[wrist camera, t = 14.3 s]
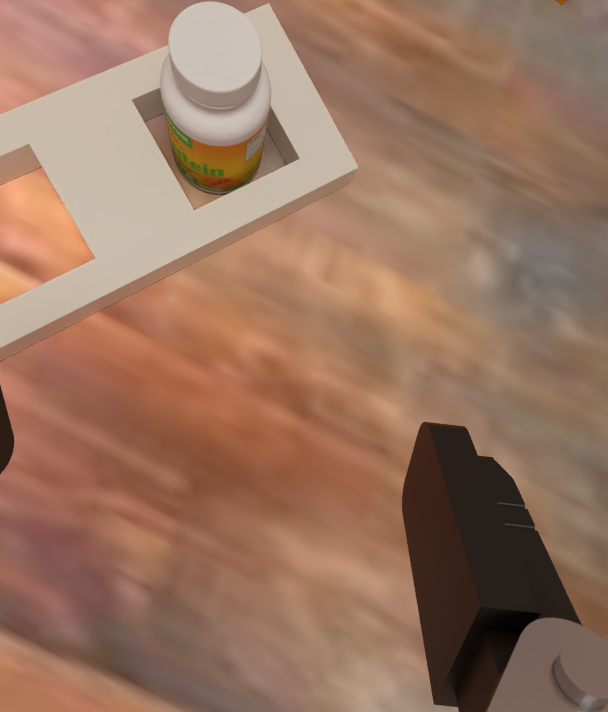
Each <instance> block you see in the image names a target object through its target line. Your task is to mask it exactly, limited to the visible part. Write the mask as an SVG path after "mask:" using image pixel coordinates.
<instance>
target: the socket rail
mask: <svg viewBox="0 0 608 712" xmlns="http://www.w3.org/2000/svg"><path fill="white" fill-rule="evenodd" d="M244 15H245V16H246V17H247V18H248V19H249V20H250V21H251V23H252V24H253V25H254V27H255V28H256V30H257V32H258V35H259V37H260V40H261V45H262V62H263V64H264V65H265V67H266V70H267V72H268V75H269V79H270V83H271V104H270V110H269V116H268V122H267V127H266V128H267V130H268V131H269V133H270V135H271V137H272V139H273V140H274V142H275V144H276V146H277V148H278V150H279V151H280V153H281V155H282V157H283V159H284V160H285V162H286V164H287V165H286V166H284V167H282V168H280V169H278V170H276V171H274V172H272V173H270V174H268V175H266V176H264V177H261V178H259V179H257V180H255V181H253V182H251V183H249V184H247V185H245V186H243V187H241V188H239V189H237V190H235V191H233V192H231V193H229V194H227V195H225V196H222V197H220V198H218V199H216V200H214V201H212V202H210V203H208V204H206V205H204V206H202V207H200V208H198V209H196V210H194V209H193V207H192V206H191V204H190V202H189V200H188V198H187V197H186V195H185V193H184V191H183V190H182V188H181V186H180V184H179V183H178V181H177V179H176V177H175V176H174V174H173V172H172V170H171V168H170V167H169V165H168V163H167V161H166V160H165V158H164V156H163V154H162V153H161V151H160V149H159V147H158V146H157V144H156V142H155V140H154V138H153V137H152V135H151V133H150V131H149V130H148V128H147V126H146V124H145V123H144V121H147V120H149V119H151V118H153V117H156V116H158V115H160V114H162V113H165V111H164V107H163V103H162V98H161V90H160V76H161V70H162V66H163V63H164V60H165V58H166V56H167V55H168V53H169V48H168V45H167V46H164V47H162V48H160V49H157V50H155V51H152V52H150V53H148V54H145V55H143V56H140V57H138V58H135V59H133V60H131V61H128V62H126V63H123V64H121V65H119V66H116V67H114V68H111V69H109V70H106V71H104V72H102V73H99V74H97V75H94V76H92V77H89V78H87V79H85V80H82V81H80V82H77V83H75V84H73V85H70V86H68V87H65V88H63V89H60V90H58V91H56V92H53V93H51V94H48V95H46V96H44V97H41V98H39V99H36V100H34V101H31V102H29V103H27V104H24V105H22V106H19V107H17V108H14V109H12V110H10V111H7V112H5V113H2V114H0V185H1V184H4V183H6V182H8V181H10V180H13V179H15V178H17V177H19V176H22V175H24V174H26V173H29V172H31V171H33V170H35V169H38V168H40V167H43V169H44V171H45V172H46V174H47V176H48V177H49V179H50V181H51V183H52V184H53V186H54V188H55V189H56V191H57V193H58V195H59V196H60V198H61V200H62V202H63V203H64V205H65V207H66V208H67V210H68V212H69V214H70V215H71V217H72V219H73V221H74V222H75V224H76V226H77V227H78V229H79V231H80V233H81V234H82V236H83V238H84V239H85V241H86V243H87V245H88V246H89V248H90V250H91V252H92V253H93V255H94V257H95V259H93V260H91V261H89V262H87V263H85V264H83V265H81V266H79V267H77V268H75V269H72V270H70V271H68V272H66V273H64V274H62V275H60V276H58V277H56V278H54V279H52V280H50V281H48V282H46V283H44V284H42V285H40V286H38V287H35V288H33V289H31V290H29V291H27V292H25V293H23V294H21V295H19V296H17V297H15V298H13V299H11V300H9V301H7V302H5V303H3V304H1V305H0V361H1V360H3V359H5V358H7V357H9V356H11V355H13V354H15V353H17V352H19V351H21V350H23V349H25V348H27V347H29V346H31V345H33V344H35V343H37V342H39V341H41V340H43V339H45V338H47V337H49V336H50V335H52V334H54V333H56V332H58V331H60V330H62V329H64V328H66V327H68V326H70V325H72V324H74V323H76V322H78V321H80V320H82V319H84V318H86V317H88V316H90V315H92V314H94V313H96V312H98V311H100V310H102V309H104V308H106V307H108V306H109V305H111V304H113V303H115V302H117V301H119V300H121V299H123V298H125V297H127V296H129V295H131V294H133V293H135V292H137V291H139V290H141V289H143V288H145V287H147V286H149V285H151V284H153V283H155V282H157V281H159V280H161V279H163V278H165V277H167V276H168V275H170V274H172V273H174V272H176V271H178V270H180V269H182V268H184V267H186V266H188V265H190V264H192V263H194V262H196V261H198V260H200V259H202V258H204V257H206V256H208V255H210V254H212V253H214V252H216V251H218V250H220V249H222V248H224V247H226V246H227V245H229V244H231V243H233V242H235V241H237V240H239V239H241V238H243V237H245V236H247V235H249V234H251V233H253V232H255V231H257V230H259V229H261V228H263V227H265V226H267V225H269V224H271V223H273V222H275V221H277V220H279V219H281V218H283V217H285V216H286V215H288V214H290V213H292V212H294V211H296V210H298V209H300V208H302V207H304V206H306V205H308V204H310V203H312V202H314V201H316V200H318V199H320V198H322V197H324V196H326V195H328V194H330V193H332V192H334V191H336V190H338V189H340V188H342V187H344V186H346V185H347V184H348V183H349V182H350V180H351V178H352V177H353V175H354V174H355V172H356V171H357V169H358V168H359V167H358V166H357V164H356V162H355V160H354V158H353V156H352V155H351V153H350V151H349V149H348V147H347V145H346V144H345V142H344V140H343V138H342V136H341V134H340V133H339V131H338V129H337V127H336V125H335V123H334V122H333V120H332V118H331V116H330V114H329V112H328V111H327V109H326V107H325V105H324V103H323V101H322V100H321V98H320V96H319V94H318V92H317V91H316V89H315V87H314V85H313V83H312V81H311V80H310V78H309V76H308V74H307V72H306V70H305V69H304V67H303V65H302V63H301V61H300V59H299V58H298V56H297V54H296V52H295V50H294V48H293V47H292V45H291V43H290V41H289V39H288V37H287V36H286V34H285V32H284V30H283V28H282V26H281V25H280V23H279V21H278V19H277V17H276V15H275V14H274V12H273V10H272V8H271V6H270V5H269V4H266V5H264V6H261V7H259V8H256V9H254V10H252V11H249V12H247V13H244Z"/></svg>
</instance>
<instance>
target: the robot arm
mask: <svg viewBox="0 0 608 712" xmlns="http://www.w3.org/2000/svg"><path fill="white" fill-rule="evenodd" d="M13 448H14V435H13V431H12V428H11V424H10V420H9V416H8V412H7V409H6V405H5V401H4V397H3V394H2V390H1V386H0V474H1V473H2V471H3V470H4V469H5V468H6V466H7V465H8V463H9V461H10V459H11V456H12V453H13ZM402 511H403V519H404V525H405V531H406V537H407V544H408V550H409V556H410V562H411V568H412V574H413V580H414V586H415V592H416V598H417V604H418V610H419V617H420V623H421V629H422V635H423V641H424V647H425V653H426V659H427V665H428V671H429V677H430V683H431V689H432V696H433V702H434V704H435V705H444V706H453V707H458V709H459V712H608V642H607V641H606V640H604V639H603V638H602V637H600V636H599V635H597V634H596V633H595V632H593V631H591V630H589V629H588V628H586V627H584V626H582V624H581V622H580V620H579V619H578V617H577V615H576V612H575V610H574V608H573V606H572V604H571V602H570V600H569V597H568V595H567V593H566V591H565V589H564V587H563V584H562V582H561V580H560V578H559V576H558V574H557V572H556V569H555V567H554V565H553V563H552V561H551V559H550V557H549V554H548V552H547V550H546V548H545V546H544V544H543V542H542V539H541V537H540V535H539V533H538V531H535V528H534V527H535V524H534V522H533V520H532V518H531V516H530V514H529V512H528V509H525V503H524V501H523V499H522V497H521V494H520V492H519V490H518V488H517V486H516V484H515V482H514V479H513V478H512V477H511V476H510V475H509V474H508V473H507V472H506V471H505V470H504V469H503V468H502V467H501V466H500V465H499V464H498V463H497V462H496V461H495V460H494V459H493V457H485V456H478V455H477V452H476V450H475V447H474V445H473V442H472V440H471V437H470V435H469V432H468V430H467V429H466V427H464V426H456V425H447V424H438V423H430V422H423V423H422V425H421V426H420V429H419V432H418V435H417V439H416V442H415V446H414V449H413V453H412V456H411V460H410V464H409V467H408V471H407V474H406V478H405V482H404V487H403V496H402Z"/></svg>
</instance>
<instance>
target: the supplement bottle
mask: <svg viewBox="0 0 608 712" xmlns="http://www.w3.org/2000/svg"><path fill="white" fill-rule="evenodd" d="M168 48H169V53H168V55H167V56H166V58H165V60H164V63H163V66H162V70H161V76H160V90H161V98H162V103H163V107H164V111H165V116H166V121H167V125H168V130H169V135H170V140H171V145H172V150H173V154H174V158H175V161H176V164H177V166H178V168H179V170H180V172H181V173H182V174H183V176H184V177H185V178H186V179H187V180H188V181H189V182H190V183H191V184H192V185H194V186H195V187H197V188H199V189H201V190H203V191H206V192H209V193H215V194H226V193H231V192H233V191H235V190H237V189H239V188H241V187H243V186H245V185H246V184H248V183H249V182H250V181H251V179H252V178H253V177H254V175H255V174H256V172H257V170H258V167H259V164H260V160H261V155H262V150H263V144H264V139H265V133H266V127H267V122H268V116H269V110H270V104H271V83H270V79H269V75H268V72H267V70H266V67H265V65H264V64H263V62H262V45H261V40H260V37H259V35H258V32H257V30H256V28H255V27H254V25H253V24H252V23H251V21H250V20H249V19H248V18H247V17H246V16H245V15H244V14H243V13H241V12H240V11H238V10H237V9H235V8H233V7H231V6H229V5H227V4H223V3H219V2H201V3H197V4H194V5H192V6H190V7H188V8H186V9H185V10H183V11H182V12H181V13H180V14H179V15H178V16H177V17H176V18H175V20H174V22H173V24H172V26H171V29H170V32H169V37H168Z"/></svg>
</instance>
